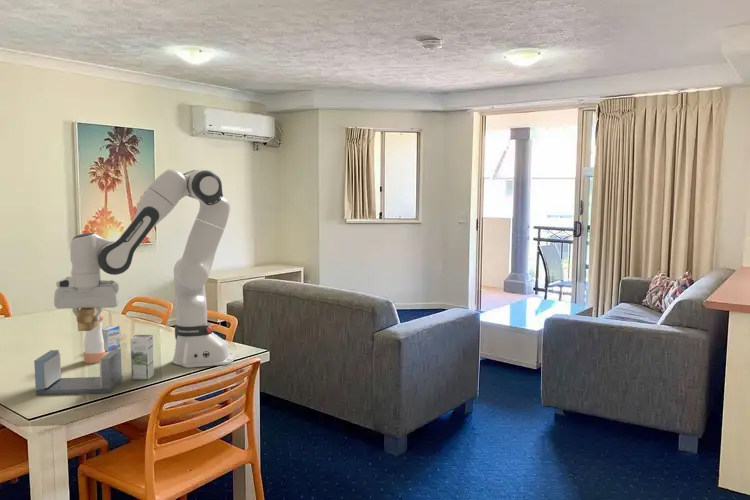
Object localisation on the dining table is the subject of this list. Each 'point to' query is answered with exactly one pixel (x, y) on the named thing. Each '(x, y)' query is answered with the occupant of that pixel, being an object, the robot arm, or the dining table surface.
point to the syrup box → (142, 357)
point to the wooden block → (86, 319)
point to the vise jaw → (47, 369)
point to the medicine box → (111, 337)
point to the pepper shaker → (94, 344)
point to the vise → (90, 379)
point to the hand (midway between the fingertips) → (88, 320)
